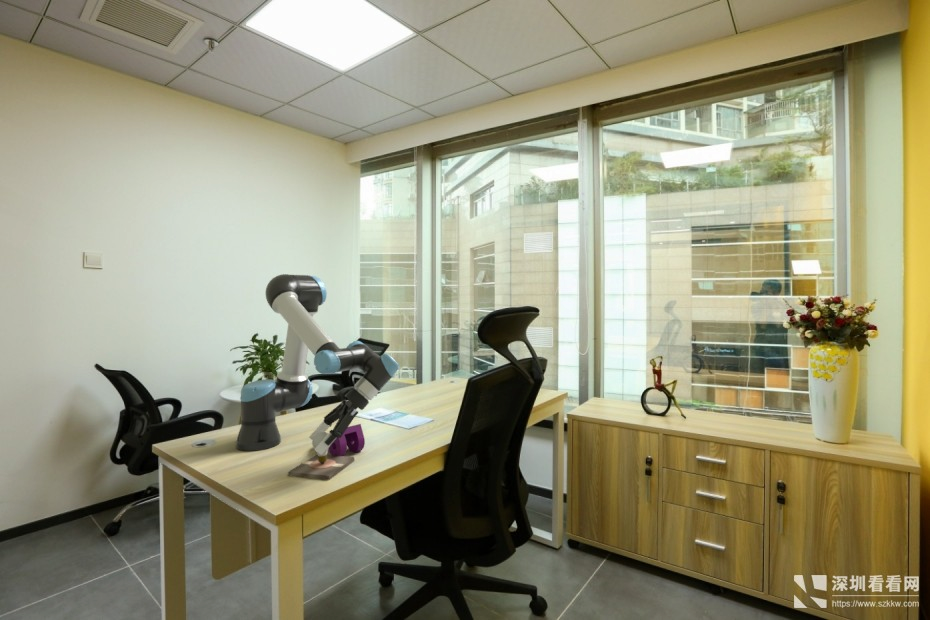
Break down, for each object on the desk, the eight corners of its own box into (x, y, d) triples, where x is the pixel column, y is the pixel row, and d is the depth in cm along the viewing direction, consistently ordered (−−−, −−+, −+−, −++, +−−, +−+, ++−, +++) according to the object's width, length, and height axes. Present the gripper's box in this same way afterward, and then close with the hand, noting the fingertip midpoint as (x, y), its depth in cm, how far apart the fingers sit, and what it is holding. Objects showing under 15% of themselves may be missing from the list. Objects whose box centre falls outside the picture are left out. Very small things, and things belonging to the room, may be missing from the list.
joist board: (288, 475, 135) (288, 471, 135) (316, 457, 150) (316, 453, 150) (329, 479, 132) (329, 475, 131) (354, 460, 147) (354, 456, 147)
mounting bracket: (317, 466, 159) (342, 455, 147) (311, 442, 161) (336, 429, 150) (340, 459, 166) (367, 447, 154) (335, 436, 168) (360, 423, 157)
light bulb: (309, 463, 141) (308, 432, 141) (326, 459, 145) (325, 428, 145) (318, 467, 137) (317, 435, 137) (335, 462, 141) (334, 431, 141)
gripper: (379, 409, 136) (329, 465, 130) (361, 394, 158) (318, 441, 152) (362, 393, 134) (310, 450, 127) (346, 380, 156) (301, 428, 150)
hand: (314, 445), depth 140 cm, fingers open, 13 cm apart
